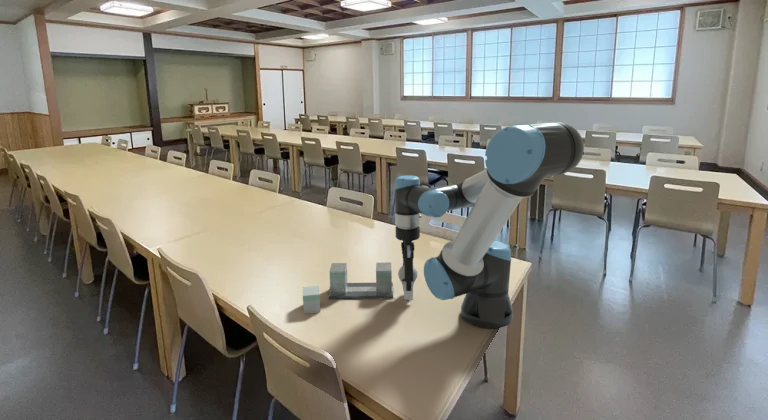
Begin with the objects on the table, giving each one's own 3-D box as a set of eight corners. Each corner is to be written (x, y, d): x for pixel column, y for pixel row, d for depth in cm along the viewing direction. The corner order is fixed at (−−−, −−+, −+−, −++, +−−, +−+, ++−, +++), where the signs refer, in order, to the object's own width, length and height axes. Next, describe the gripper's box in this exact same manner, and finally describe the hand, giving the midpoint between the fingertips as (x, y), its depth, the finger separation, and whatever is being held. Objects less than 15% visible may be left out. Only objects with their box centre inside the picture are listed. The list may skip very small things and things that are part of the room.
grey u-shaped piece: (393, 298, 144) (393, 272, 142) (328, 299, 144) (327, 273, 142) (392, 285, 154) (392, 260, 151) (331, 285, 154) (330, 261, 151)
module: (320, 312, 136) (319, 294, 134) (303, 314, 135) (302, 296, 133) (319, 303, 142) (318, 285, 140) (303, 304, 141) (302, 287, 139)
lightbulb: (416, 292, 147) (416, 261, 144) (418, 300, 141) (418, 268, 138) (397, 293, 146) (397, 261, 144) (399, 301, 141) (398, 269, 138)
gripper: (422, 234, 128) (422, 307, 134) (417, 217, 147) (417, 282, 152) (396, 235, 128) (397, 308, 134) (394, 217, 147) (395, 282, 152)
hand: (408, 294), depth 143 cm, fingers closed on lightbulb, 6 cm apart
